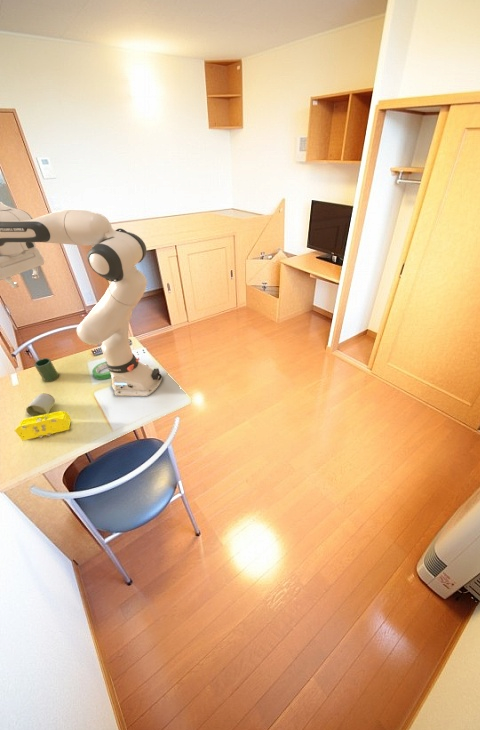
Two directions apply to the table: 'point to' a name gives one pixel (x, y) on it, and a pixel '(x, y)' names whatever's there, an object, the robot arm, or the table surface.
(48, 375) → the green cup
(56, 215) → the robot arm
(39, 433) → the yellow toy chassis
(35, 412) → the ceramic mug
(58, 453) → the table surface
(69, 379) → the table surface
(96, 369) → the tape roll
